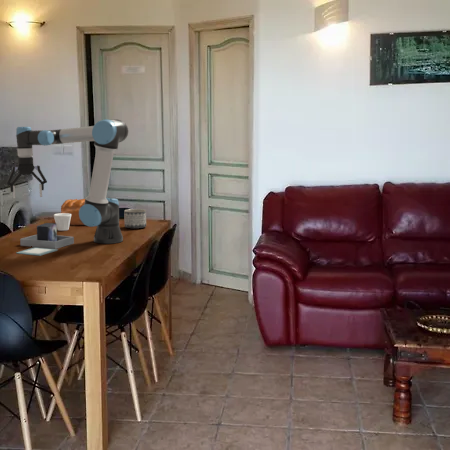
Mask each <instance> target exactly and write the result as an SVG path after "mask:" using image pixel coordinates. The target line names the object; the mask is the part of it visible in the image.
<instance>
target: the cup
mask: <svg viewBox="0 0 450 450" xmlns="http://www.w3.org/2000/svg"><path fill="white" fill-rule="evenodd" d="M53 218H54V221H55V224H57V232H65V231H66V232H67V231H69V228H70V226H71V225H70V220H71V214H69V213H61V212H60V213H59V212H58V213H55V214H53Z"/></svg>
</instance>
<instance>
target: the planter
mask: <svg viewBox="0 0 450 450" xmlns="http://www.w3.org/2000/svg"><path fill="white" fill-rule="evenodd" d="M123 214H124V219H123V220H124V221H123V222H124V227H125V228H128V229H129V228H130V229H131V230H140V229H139V228H141V229H143V228H146V227H147V210H146V209H141V208H132V209H131V208H130V209H125V210H124V213H123Z"/></svg>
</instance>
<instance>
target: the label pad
mask: <svg viewBox="0 0 450 450" xmlns="http://www.w3.org/2000/svg"><path fill="white" fill-rule="evenodd" d="M57 251H59V248H57V249H51V248H41V247H31V248H28V249H24V250H20V251H18V252H17V251H16V254H19V255H27V256H28V255H30V256H38V257H39V256H40V257H41V256H43V255H47V254H48V255H49V254H51V253H53V252H57Z"/></svg>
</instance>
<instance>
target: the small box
mask: <svg viewBox="0 0 450 450" xmlns="http://www.w3.org/2000/svg"><path fill="white" fill-rule="evenodd" d="M36 235H37V240H43V241H53V242H55V241H57V235H58V230H57V224H56V223H51V222H44V223H43V224H39V225H37V226H36Z"/></svg>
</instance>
